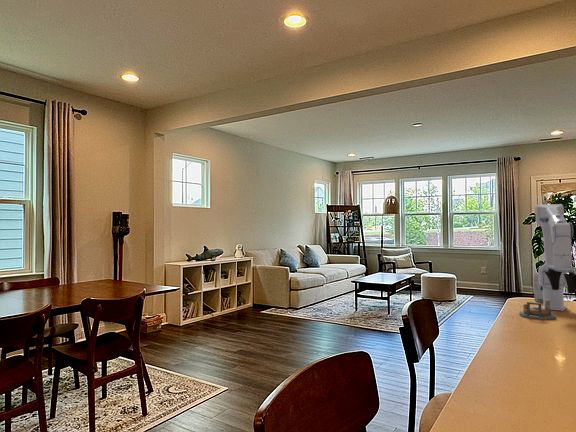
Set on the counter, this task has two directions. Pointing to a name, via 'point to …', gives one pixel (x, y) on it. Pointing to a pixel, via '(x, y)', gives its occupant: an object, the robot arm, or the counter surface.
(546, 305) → the capstan disc
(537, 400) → the counter surface
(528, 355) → the counter surface
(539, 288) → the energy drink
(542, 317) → the disc
